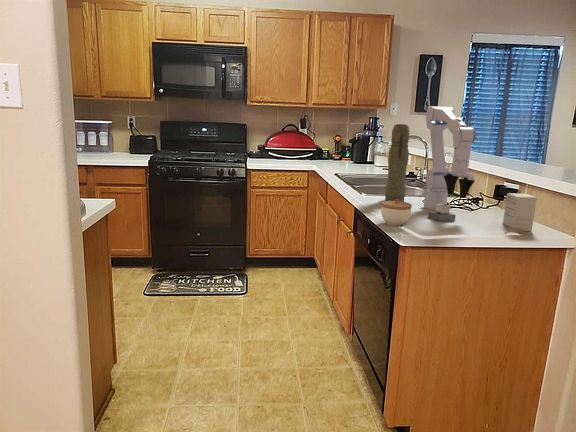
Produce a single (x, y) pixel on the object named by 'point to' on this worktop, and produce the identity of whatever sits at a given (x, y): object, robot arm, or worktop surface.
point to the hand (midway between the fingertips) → (456, 195)
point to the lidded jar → (395, 212)
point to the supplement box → (519, 211)
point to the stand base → (441, 216)
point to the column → (442, 208)
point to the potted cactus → (397, 163)
